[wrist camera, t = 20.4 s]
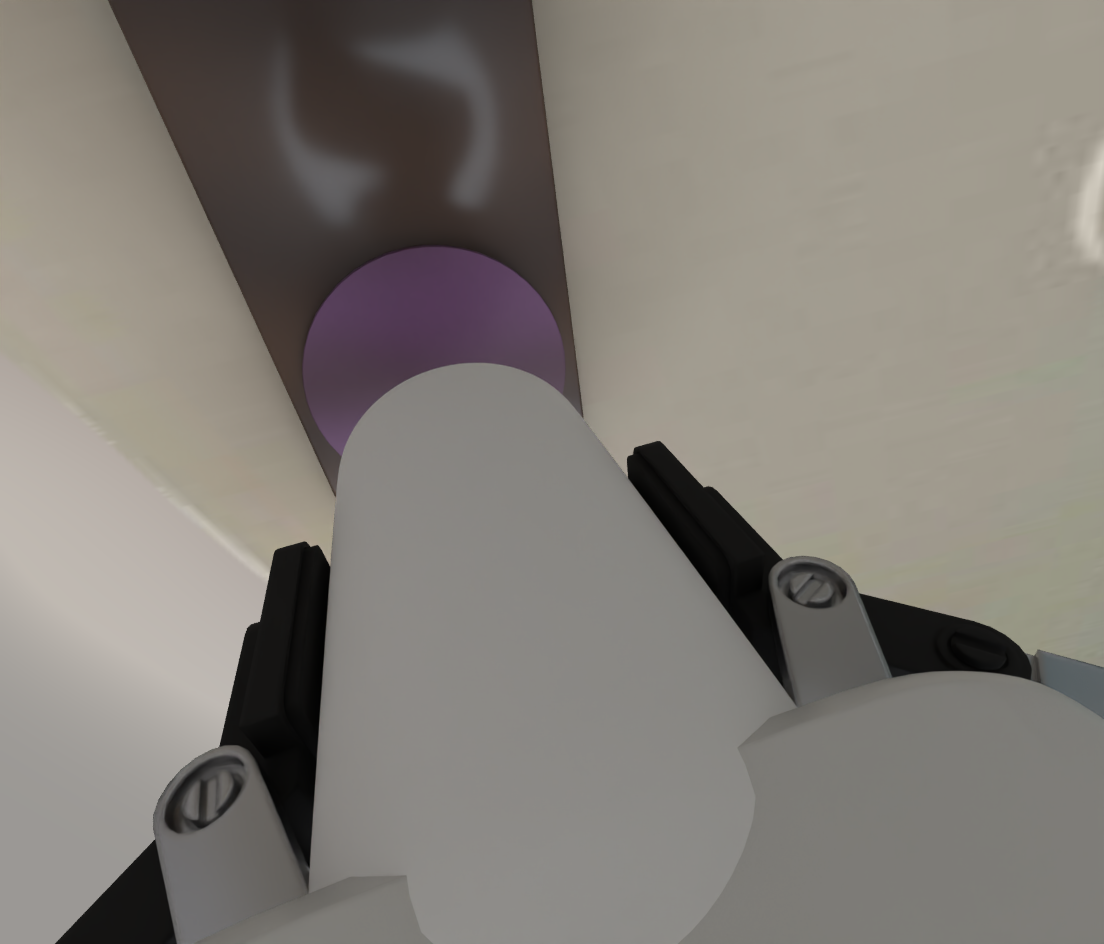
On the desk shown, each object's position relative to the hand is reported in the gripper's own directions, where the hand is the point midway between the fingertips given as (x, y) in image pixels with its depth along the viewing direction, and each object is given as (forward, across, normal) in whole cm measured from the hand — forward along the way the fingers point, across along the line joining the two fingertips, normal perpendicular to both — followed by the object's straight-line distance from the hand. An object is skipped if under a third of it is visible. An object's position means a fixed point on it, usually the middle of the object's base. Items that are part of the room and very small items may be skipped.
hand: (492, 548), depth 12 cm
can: (+3, 0, 0) cm, 3 cm away
